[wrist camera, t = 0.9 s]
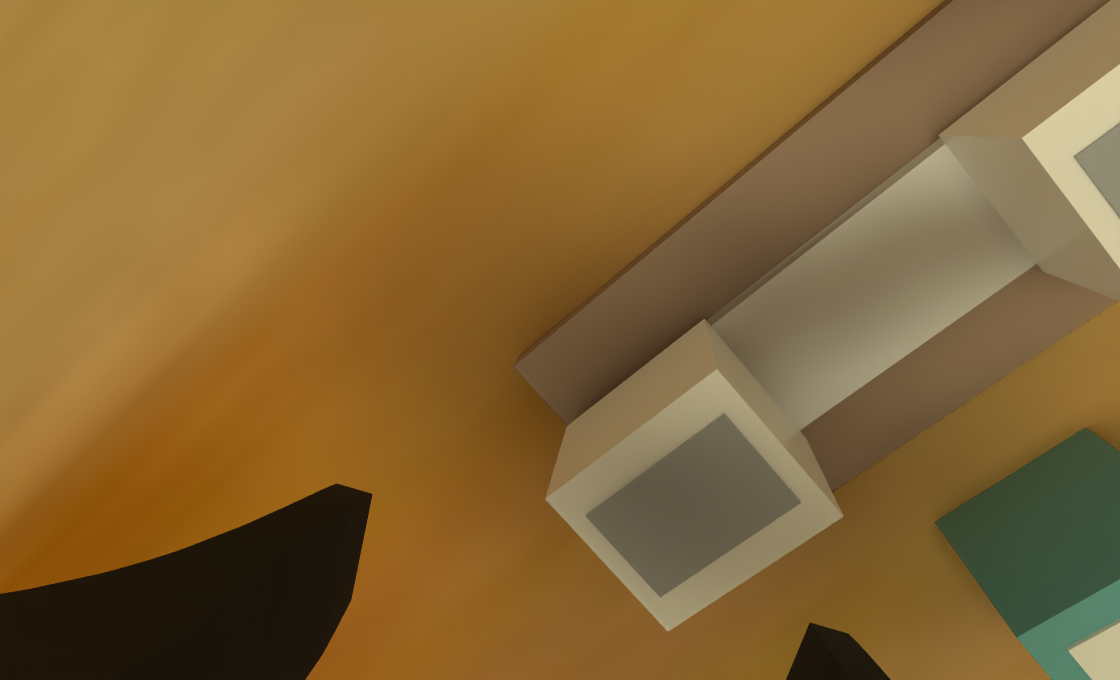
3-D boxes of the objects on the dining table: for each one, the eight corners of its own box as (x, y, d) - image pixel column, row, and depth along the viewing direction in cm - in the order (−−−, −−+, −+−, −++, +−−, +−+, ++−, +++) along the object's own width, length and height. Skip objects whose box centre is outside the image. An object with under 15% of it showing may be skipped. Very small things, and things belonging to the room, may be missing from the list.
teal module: (1169, 534, 20) (1330, 663, 16) (1018, 621, 22) (1123, 765, 17) (1084, 426, 20) (1224, 524, 15) (934, 521, 21) (1019, 640, 16)
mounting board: (1239, 193, 18) (1300, 200, 16) (702, 558, 22) (705, 593, 20) (1043, -82, 17) (1086, -105, 15) (519, 355, 21) (508, 375, 19)
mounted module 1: (805, 437, 19) (844, 518, 15) (665, 535, 20) (668, 634, 16) (704, 318, 18) (716, 370, 15) (566, 426, 20) (544, 501, 16)
